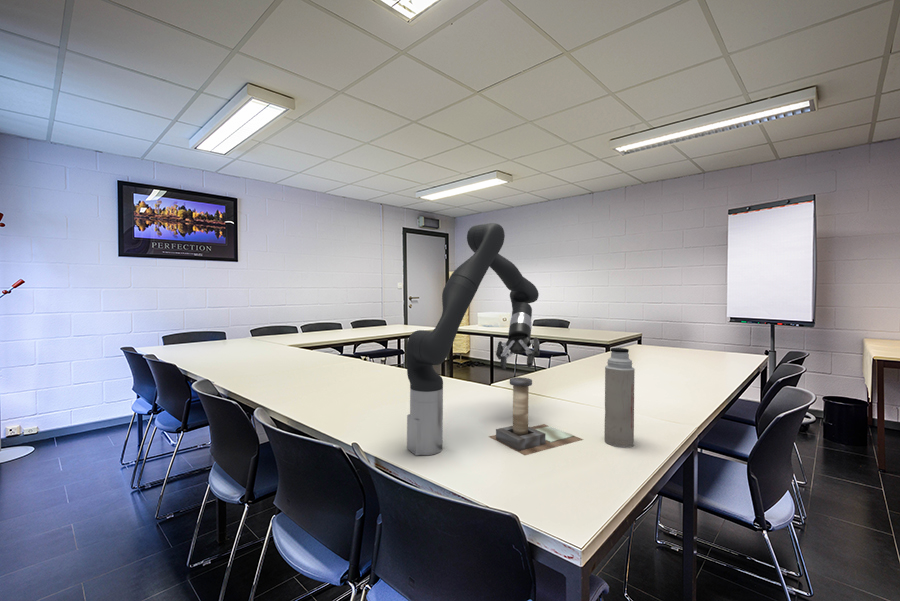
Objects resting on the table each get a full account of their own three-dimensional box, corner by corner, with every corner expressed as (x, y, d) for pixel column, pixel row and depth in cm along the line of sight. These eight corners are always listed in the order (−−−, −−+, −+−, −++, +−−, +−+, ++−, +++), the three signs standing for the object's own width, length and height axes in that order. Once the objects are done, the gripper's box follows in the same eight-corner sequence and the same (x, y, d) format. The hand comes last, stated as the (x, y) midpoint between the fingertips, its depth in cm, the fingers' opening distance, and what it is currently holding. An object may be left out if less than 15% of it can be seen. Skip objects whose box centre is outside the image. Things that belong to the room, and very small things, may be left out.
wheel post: (519, 447, 107) (519, 383, 107) (504, 440, 113) (505, 378, 113) (536, 443, 111) (536, 380, 111) (521, 436, 116) (521, 376, 116)
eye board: (524, 459, 102) (524, 444, 102) (488, 439, 116) (488, 426, 116) (583, 442, 114) (583, 429, 114) (544, 427, 128) (544, 415, 128)
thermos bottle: (636, 441, 115) (637, 348, 115) (630, 449, 109) (631, 350, 109) (608, 435, 120) (609, 345, 120) (601, 443, 114) (602, 348, 114)
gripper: (497, 324, 136) (491, 362, 125) (537, 318, 129) (534, 358, 119) (504, 337, 140) (499, 375, 130) (543, 332, 134) (541, 372, 123)
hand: (515, 367), depth 124 cm, fingers open, 8 cm apart
